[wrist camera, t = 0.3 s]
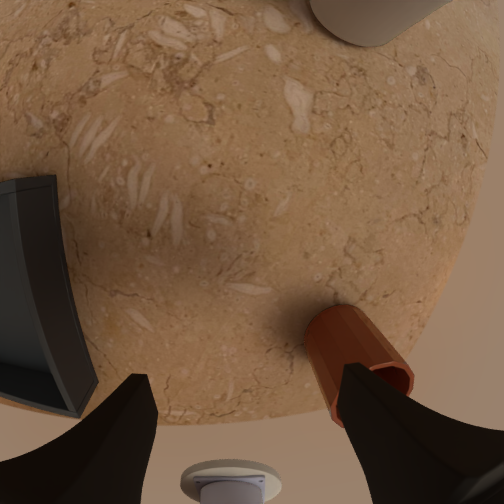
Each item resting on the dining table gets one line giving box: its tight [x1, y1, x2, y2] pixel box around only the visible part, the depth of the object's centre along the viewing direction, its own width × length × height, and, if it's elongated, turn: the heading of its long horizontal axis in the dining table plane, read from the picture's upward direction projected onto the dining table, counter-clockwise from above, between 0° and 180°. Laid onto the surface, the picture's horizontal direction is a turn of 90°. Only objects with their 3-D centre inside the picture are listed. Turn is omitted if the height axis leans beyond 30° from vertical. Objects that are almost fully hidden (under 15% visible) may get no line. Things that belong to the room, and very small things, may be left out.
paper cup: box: [304, 305, 414, 428], centre depth 17 cm, size 5×5×7 cm
